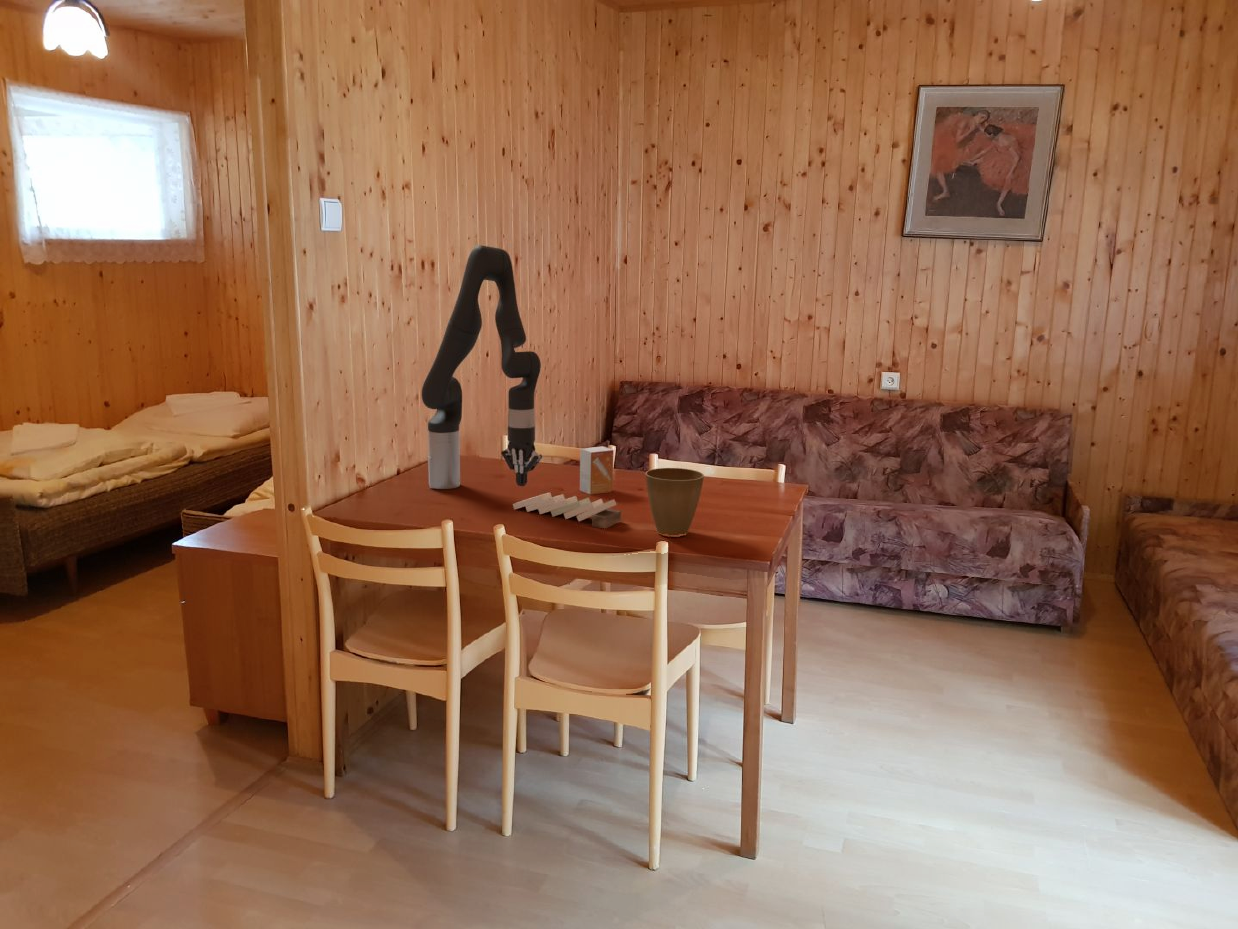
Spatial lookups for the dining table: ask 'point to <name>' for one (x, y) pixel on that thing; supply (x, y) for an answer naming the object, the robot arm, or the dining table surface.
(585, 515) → the domino
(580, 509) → the domino
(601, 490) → the small box
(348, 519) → the dining table surface
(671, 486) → the plant pot
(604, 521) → the stop block
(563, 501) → the domino
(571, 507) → the domino
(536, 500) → the domino
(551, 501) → the domino
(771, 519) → the dining table surface
